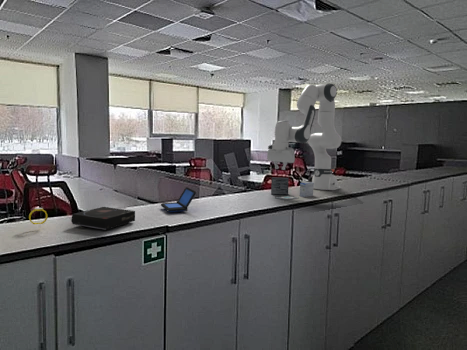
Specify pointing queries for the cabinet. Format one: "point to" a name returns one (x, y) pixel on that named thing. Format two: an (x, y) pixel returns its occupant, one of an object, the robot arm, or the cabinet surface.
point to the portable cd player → (103, 217)
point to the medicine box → (306, 189)
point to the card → (286, 197)
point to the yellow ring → (37, 210)
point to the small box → (279, 186)
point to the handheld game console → (180, 201)
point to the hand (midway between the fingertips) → (280, 169)
